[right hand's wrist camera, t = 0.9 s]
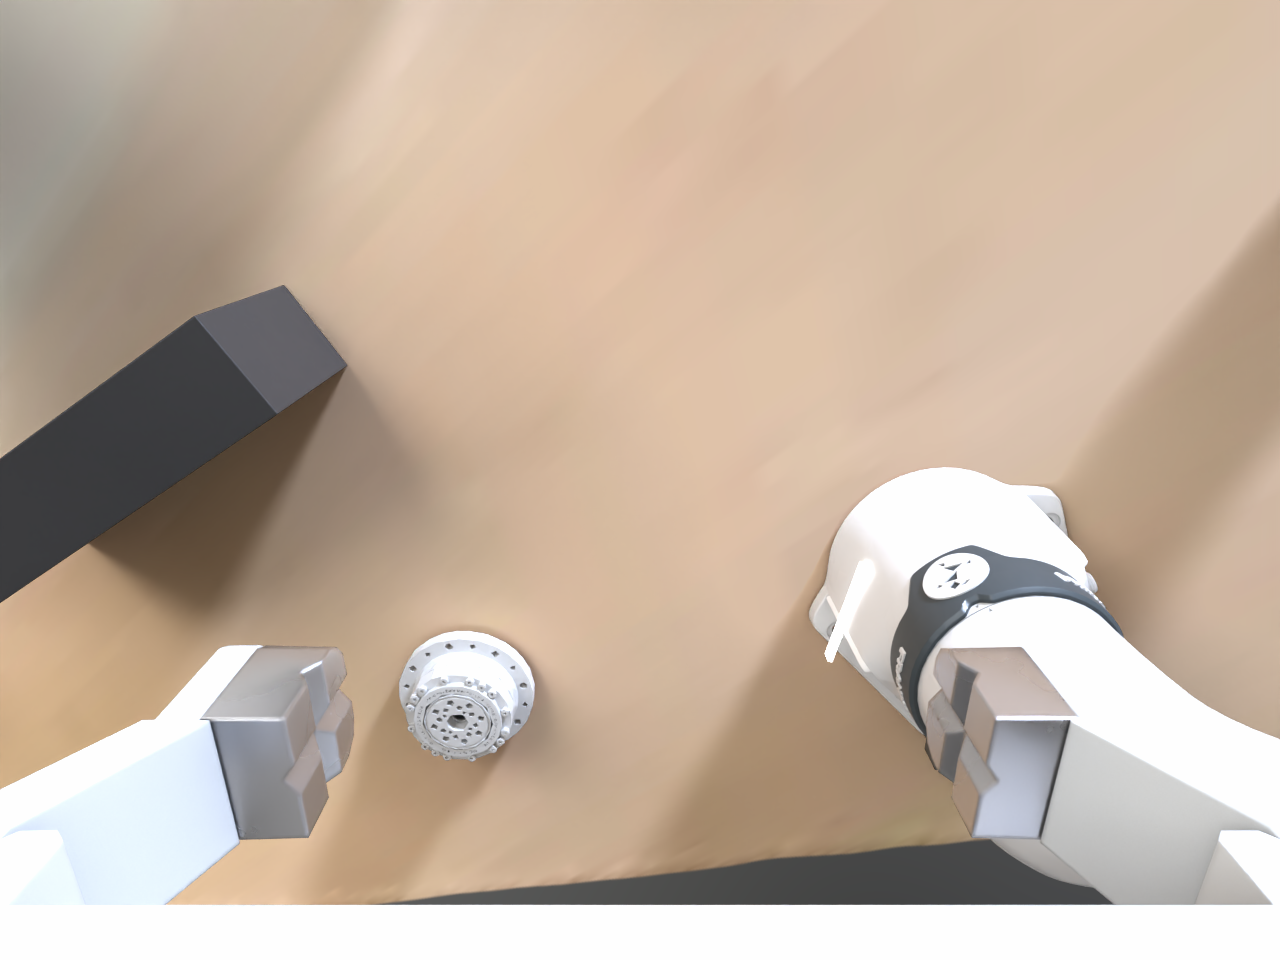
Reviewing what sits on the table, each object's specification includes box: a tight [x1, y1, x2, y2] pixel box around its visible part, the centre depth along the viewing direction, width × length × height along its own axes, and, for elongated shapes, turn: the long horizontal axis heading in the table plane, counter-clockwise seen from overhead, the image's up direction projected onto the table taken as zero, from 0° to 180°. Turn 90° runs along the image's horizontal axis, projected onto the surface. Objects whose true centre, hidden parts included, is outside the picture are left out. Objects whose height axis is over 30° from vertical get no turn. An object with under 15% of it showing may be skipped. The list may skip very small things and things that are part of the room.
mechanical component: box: [399, 631, 535, 762], centre depth 57 cm, size 10×4×10 cm
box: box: [0, 285, 347, 603], centre depth 46 cm, size 24×6×10 cm, turn 122°
